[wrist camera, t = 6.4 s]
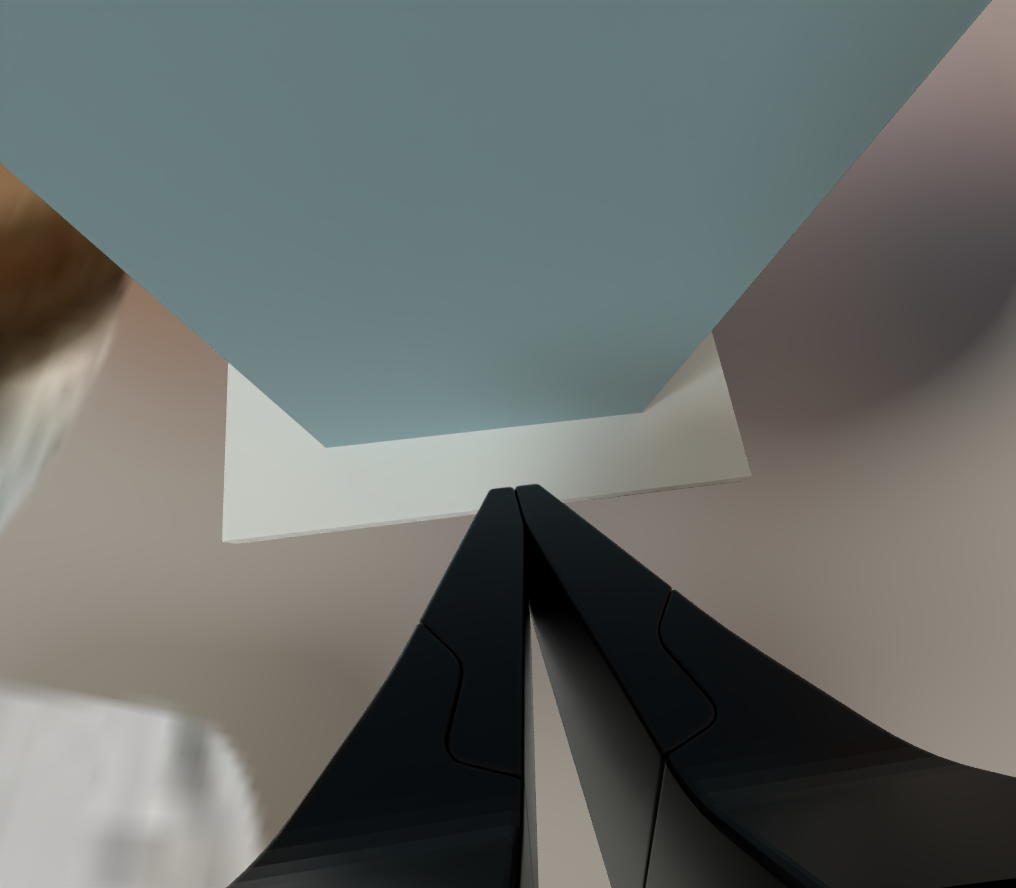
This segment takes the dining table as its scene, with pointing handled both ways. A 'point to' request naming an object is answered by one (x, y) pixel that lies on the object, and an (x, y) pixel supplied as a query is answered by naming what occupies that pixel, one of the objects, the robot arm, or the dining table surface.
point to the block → (451, 180)
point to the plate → (471, 460)
